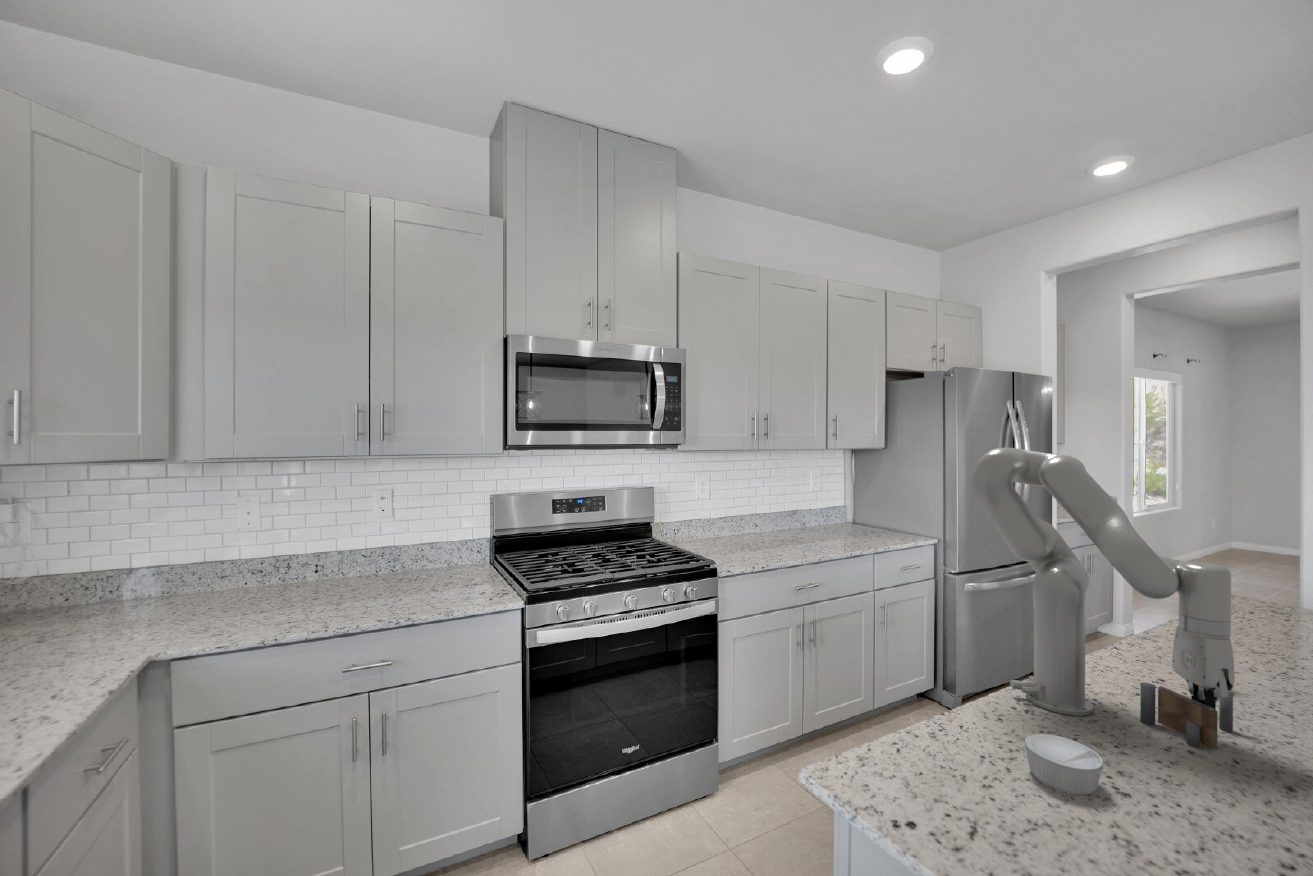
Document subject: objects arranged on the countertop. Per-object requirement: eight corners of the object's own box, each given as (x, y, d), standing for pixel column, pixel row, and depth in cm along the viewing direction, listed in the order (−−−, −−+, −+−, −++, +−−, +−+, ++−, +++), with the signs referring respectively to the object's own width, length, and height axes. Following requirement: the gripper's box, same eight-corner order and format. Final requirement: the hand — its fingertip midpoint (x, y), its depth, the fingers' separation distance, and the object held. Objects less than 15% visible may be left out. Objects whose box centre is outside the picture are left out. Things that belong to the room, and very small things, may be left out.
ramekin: (1107, 808, 92) (1107, 775, 92) (1025, 786, 98) (1025, 755, 98) (1098, 774, 102) (1098, 745, 102) (1024, 756, 108) (1024, 728, 108)
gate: (1157, 722, 120) (1157, 686, 120) (1163, 722, 120) (1163, 686, 120) (1210, 748, 110) (1210, 708, 110) (1217, 747, 110) (1217, 708, 110)
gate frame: (1192, 748, 111) (1193, 706, 111) (1137, 720, 122) (1137, 682, 122) (1203, 747, 111) (1203, 706, 111) (1147, 719, 122) (1147, 682, 122)
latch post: (1224, 732, 117) (1224, 692, 118) (1216, 727, 119) (1216, 688, 120) (1235, 733, 117) (1235, 693, 117) (1227, 728, 119) (1228, 689, 119)
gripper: (1156, 613, 122) (1156, 699, 122) (1211, 636, 107) (1210, 734, 107) (1197, 615, 121) (1196, 702, 121) (1258, 639, 106) (1257, 739, 106)
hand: (1203, 717), depth 114 cm, fingers closed
